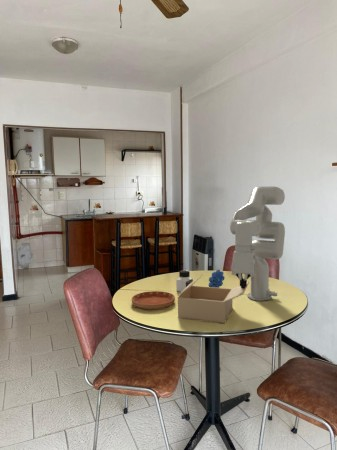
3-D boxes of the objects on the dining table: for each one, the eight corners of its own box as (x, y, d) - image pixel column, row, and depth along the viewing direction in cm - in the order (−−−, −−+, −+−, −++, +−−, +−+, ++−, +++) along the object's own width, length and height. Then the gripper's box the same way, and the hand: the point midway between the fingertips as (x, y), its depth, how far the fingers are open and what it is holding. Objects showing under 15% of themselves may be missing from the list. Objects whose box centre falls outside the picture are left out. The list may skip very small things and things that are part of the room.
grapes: (219, 286, 211) (219, 267, 210) (226, 289, 206) (226, 269, 204) (204, 289, 205) (204, 270, 204) (211, 292, 200) (211, 272, 198)
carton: (232, 308, 174) (232, 289, 173) (224, 323, 156) (224, 302, 155) (190, 303, 182) (190, 285, 181) (178, 317, 163) (177, 297, 162)
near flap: (232, 288, 173) (232, 289, 173) (224, 301, 155) (225, 302, 155) (248, 281, 169) (249, 282, 169) (242, 293, 152) (243, 294, 152)
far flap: (178, 296, 163) (177, 295, 163) (189, 285, 180) (189, 284, 180) (191, 285, 160) (191, 284, 160) (202, 275, 177) (202, 274, 177)
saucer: (127, 300, 191) (126, 293, 190) (166, 294, 199) (166, 288, 198) (138, 314, 169) (138, 307, 169) (181, 307, 177) (181, 300, 177)
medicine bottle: (186, 293, 200) (185, 272, 199) (176, 291, 204) (175, 271, 203) (193, 290, 206) (192, 270, 204) (183, 288, 210) (182, 268, 209)
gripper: (261, 248, 159) (260, 287, 161) (228, 246, 165) (228, 284, 167) (259, 251, 152) (258, 291, 154) (225, 249, 158) (225, 288, 160)
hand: (243, 287), depth 160 cm, fingers closed
